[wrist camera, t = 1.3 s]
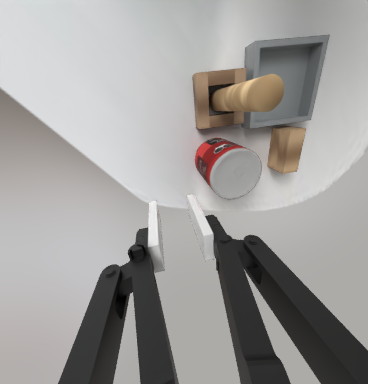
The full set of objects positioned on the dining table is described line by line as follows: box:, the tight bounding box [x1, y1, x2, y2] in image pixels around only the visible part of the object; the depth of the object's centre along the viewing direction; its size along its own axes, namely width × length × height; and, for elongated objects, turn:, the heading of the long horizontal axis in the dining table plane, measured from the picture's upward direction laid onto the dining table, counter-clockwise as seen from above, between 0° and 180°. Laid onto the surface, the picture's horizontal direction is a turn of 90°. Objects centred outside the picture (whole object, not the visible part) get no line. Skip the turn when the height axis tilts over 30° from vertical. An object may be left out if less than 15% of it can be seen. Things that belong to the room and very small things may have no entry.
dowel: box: [209, 74, 284, 112], centre depth 23 cm, size 3×3×15 cm
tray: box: [242, 35, 329, 129], centre depth 29 cm, size 12×12×3 cm
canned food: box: [195, 138, 262, 199], centre depth 29 cm, size 8×8×11 cm
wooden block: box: [268, 126, 306, 174], centre depth 33 cm, size 8×3×5 cm, turn 6°
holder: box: [193, 68, 246, 129], centre depth 28 cm, size 8×8×2 cm
